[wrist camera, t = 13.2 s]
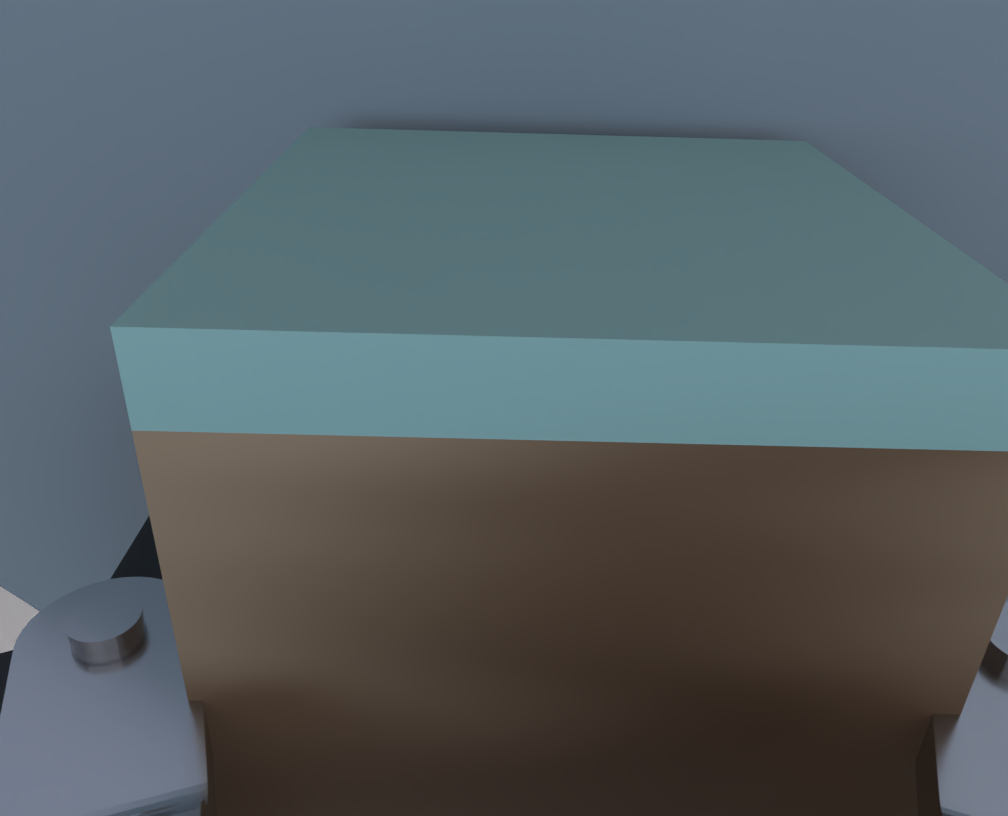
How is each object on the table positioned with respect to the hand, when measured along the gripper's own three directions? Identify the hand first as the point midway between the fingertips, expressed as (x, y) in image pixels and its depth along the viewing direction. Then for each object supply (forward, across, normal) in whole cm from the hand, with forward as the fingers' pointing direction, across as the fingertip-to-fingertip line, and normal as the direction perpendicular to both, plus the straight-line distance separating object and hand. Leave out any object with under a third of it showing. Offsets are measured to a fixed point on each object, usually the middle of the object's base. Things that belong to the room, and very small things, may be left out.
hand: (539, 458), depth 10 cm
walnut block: (-2, 0, +6) cm, 7 cm away
